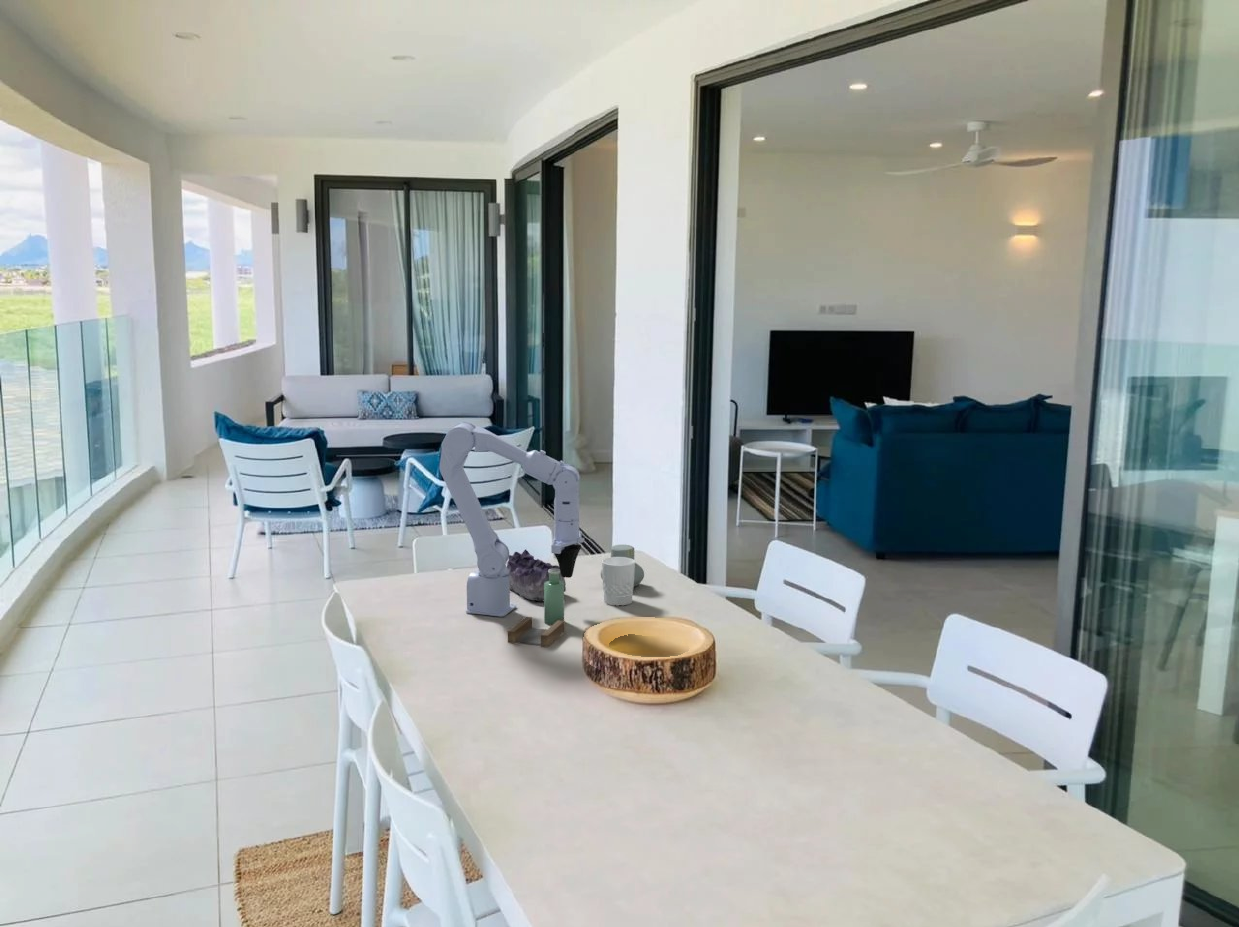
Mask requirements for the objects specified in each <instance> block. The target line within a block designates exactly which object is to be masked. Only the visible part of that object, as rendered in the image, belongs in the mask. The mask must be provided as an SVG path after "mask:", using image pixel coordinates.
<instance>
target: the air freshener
mask: <svg viewBox="0 0 1239 927" xmlns="http://www.w3.org/2000/svg"><path fill="white" fill-rule="evenodd" d="M610 557H626V558H631V559H633V560H635V547H634V546H632V545H630V544H615V545H613V546H611V547H610ZM600 578H601V580H602V581H603V576H602V569H601V570H600ZM644 578H645V571H644V569H643V567H642V566H641V565H640V564H638V563H636V562H635V572H634V587H635V586H638V585H639V584H640V583H641V582H643V580H644Z"/></svg>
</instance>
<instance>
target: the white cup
mask: <svg viewBox="0 0 1239 927" xmlns="http://www.w3.org/2000/svg"><path fill="white" fill-rule="evenodd" d="M635 563H636V560H635V559H634V560H633V559H631V558H626V557H611V556H610V557H606V558H604V559H602V560H601V568H602V569H601V570H602V576H603V580H602V587H603V588H602V590H603V601H604V603H605V604H606V605H610V606H615V605H616V607H617V606H618V607H619V605H622V606H628V605H630V604H633V592H634V587H635V586H634V572H635Z"/></svg>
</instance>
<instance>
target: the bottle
mask: <svg viewBox="0 0 1239 927" xmlns="http://www.w3.org/2000/svg"><path fill="white" fill-rule="evenodd" d="M548 573H549V581H547V582H545V583H544V601H543V604H544V605H543V606H544V607H543V608H544V609H543V612H544V613H543V614H544V615H543V618H544V620H543V621H544V622H543V623H544V624H545V625H548V626H552V625H553V624H554V623H555V622H557V621H558V620H560V621H564V622H565V592H564V582H562V581H559V573H560V570H559V569H549V570H548Z"/></svg>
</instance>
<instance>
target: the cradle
mask: <svg viewBox="0 0 1239 927" xmlns="http://www.w3.org/2000/svg"><path fill="white" fill-rule="evenodd" d="M564 633H565V620H564V621H560V620H558V621H557V622H555V623H554V624H553V625H550V626H549V627H548V628H547V629H546V628H545V629H544V628H538V627H533V617H532V616H525V617H523V618H522V619H521V620H519V622H517V623H516V624H515V625H513V626H512V627H511V628H509V629H508V630H507V643H509V644H516V643H518V644H523V645H524V644H525V645H534V646H540V647H542V648H548V647H550V646H551V645H552V644H553V643H554V642H555V641H556V640H558V639H559V638H560V637H561V636H562V635H563V634H564Z"/></svg>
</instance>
